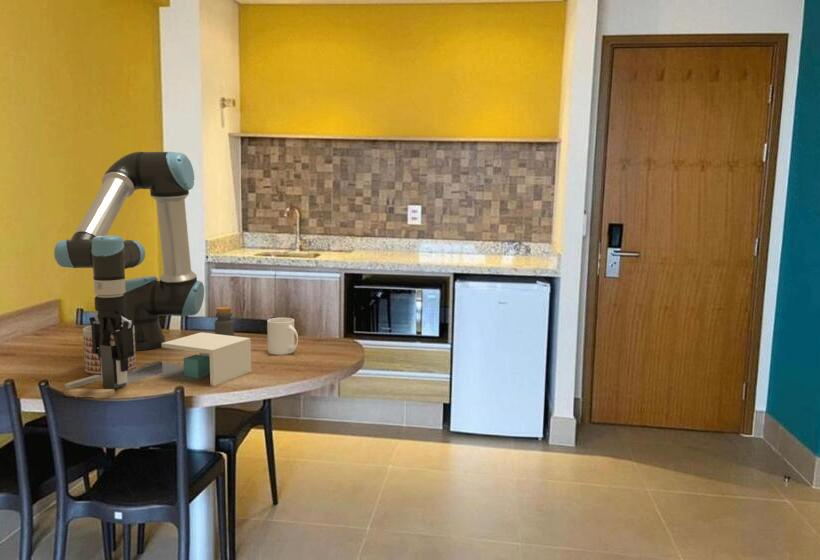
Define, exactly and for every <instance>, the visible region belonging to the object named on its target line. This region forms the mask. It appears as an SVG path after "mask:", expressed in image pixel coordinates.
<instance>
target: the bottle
mask: <svg viewBox="0 0 820 560" xmlns="http://www.w3.org/2000/svg"><path fill="white" fill-rule="evenodd" d="M215 309H216V313H215V317H216V318H217V320H215V321H214V334H220V335H228V336H235V332H234V331H235V329H234V320H233V319H232V318H231V317H233V312H231V311H232V306H218V307H216V308H215Z"/></svg>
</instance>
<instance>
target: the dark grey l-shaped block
mask: <svg viewBox="0 0 820 560" xmlns="http://www.w3.org/2000/svg"><path fill="white" fill-rule="evenodd" d="M100 353H101V366H102V379H103V382H102V389H115V392H116V391H119V390H118V389H121V388H124V387H126V386H127V385H129V384H131V383H134V382H139V381H141V380H144V379H146V378H149V377H153V376H157V375H156V374H159V373H161V372H163V368H162V363H163V361H158V360H156V361H153V362H150V363H147V364H144V365H141V366H138V367H135V368H134V369H132V370H129V371H127V381H128V382H126V383H123V384H120V385H119V384H117V369H116V359H118V354H117V350H116V346H115V342H113V341H112V342H109V343H105V344H101V345H100Z"/></svg>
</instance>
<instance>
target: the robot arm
mask: <svg viewBox="0 0 820 560" xmlns="http://www.w3.org/2000/svg"><path fill="white" fill-rule="evenodd" d="M194 186H195V171H194V167H193V165H192V162H191V160H190V158H189V157H188V156H187V155H186V154H184V153H183V152H175V151H136V152H131V153H128V154H126V155H124V156H122V157H120V158H119V159H118V160H115V161H114V163H113V164H111V166H109V168H108V169H107V170H106V171H105V173H104V174H103V176H102V178H101V187H100V188H99V191H98V192H97V194H96V196H95V198H94V199H93V201H92V202H91V204H90V206H89V207H88V210H87V211H86V213H85V215H84V216H83V218H82V220H81V222H80V224H79V225H78V227H77V228H76V229H75V232H74V234H73V235H72V237H71V238H70V239H63V240H60V241H57V242H56V244H55V246H54V252H53V255H54V260H55V262H56V263H57V265H58V266H60V267H62V268H69V269H71V268H72V269H77V268H78V269H92V270H93V271H92V272H93V291H94V292H93V294H94V295H95V297H94V298H93V299H94V310H95V311H96V312H97V315H96V316H91V317H89V319H88V320H89V323H90V325H91V328H92V349H93V353H94V354H97V355H98V357H99V360H100V368H101V377H102V366H101V353H100V345H101V344H105V343H109V342H110V339H111V334H112V335H113V337H114V341H115V346H116V350H117V354H118V359H116V369H117V384H119V385H120V384H123V383H126V382H128V381H127V371H128V358H130V357H133V356H134V344H133V325H134V328H135V350H136V351H145V350H153V349H157V348H162V343H164V342H166V337H165V334H164V333H163V330H162V326H161V324H160V317H159V316H166V317H167V316H169V317H170V316H171V317H172V316H173V317H175V316H176V317H178V316H179V317H187V316H188V317H190V316H195V315H197V314H198V313H199V312H200V311H201V308H202V306H203V302H204V299H205V285H204V282H203V281H201V280H197V274H196V273H195V272H194V271H192V267H191V255H190V245H189V244H190V242H189V232H188V221H187V211H186V201H185V199H186V198H187V197H188V196H189V195H190V192H189V191H190V190H192V189H193V188H194ZM138 190H149V192H150V194H149V195H150V197H151V198H153V200H155V202H156V213H157V219H158V229H159V239H160V248H161V249H160V250H161V259H162V269H163V273H162V274H161V275H160V276H159V278H158V277H157V276H156V275H154V276H153V275H148V276H141V277H135V278H129V279H126V272H125V270H126V269H129V268H131V269H133V268H135V267H137V266H139V265H141V264H142V263H143V261H144V260H145V257H146V251H145V247H144V246H143V245H142V244H141V242H139V241H137V240H134V239H125V240H124V239H123V237H122V236H120V235H108V233H109V232H110V229H111V228H112V225H113V224H114V222H115V220H116V218H117V217H118V215H119V213H120V212H121V211H120V210H121V209H122V207H123V206H124V203H125V202H126V200H127V198H129V197H131V196H132V195H133V194H134V192H135V191H138ZM117 330H119V331H117ZM97 348H98V349H97ZM101 382H102V383H103V379H102V380H101Z"/></svg>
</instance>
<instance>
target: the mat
mask: <svg viewBox="0 0 820 560" xmlns="http://www.w3.org/2000/svg"><path fill="white" fill-rule="evenodd" d="M162 368H163V372H161V373H159V374H156V375H155V376H159V377H163V378H164V377H166V378H172V379H177V380H185V381H191V382H195V381H197V380H200V379H203V378H206V377H210V374H207V375H205V376H202V377H199V378H196V377H190V376H184V365H182V364H181V365H179V364H173V363H165V362H162Z"/></svg>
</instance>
